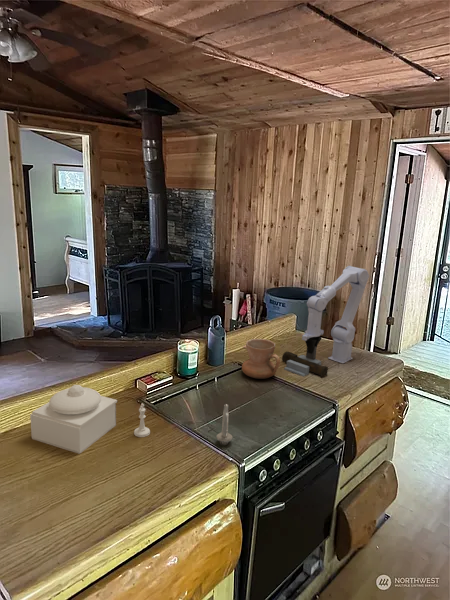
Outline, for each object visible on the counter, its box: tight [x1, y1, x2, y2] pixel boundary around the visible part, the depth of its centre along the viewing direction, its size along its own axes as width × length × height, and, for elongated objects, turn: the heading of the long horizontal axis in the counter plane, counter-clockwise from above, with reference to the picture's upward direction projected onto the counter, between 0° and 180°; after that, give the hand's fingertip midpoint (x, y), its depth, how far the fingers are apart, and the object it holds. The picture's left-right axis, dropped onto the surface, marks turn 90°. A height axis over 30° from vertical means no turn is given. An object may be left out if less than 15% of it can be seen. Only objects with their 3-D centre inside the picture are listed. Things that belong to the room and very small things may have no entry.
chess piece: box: [133, 403, 151, 438], centre depth 135 cm, size 5×5×10 cm
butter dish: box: [29, 384, 118, 455], centre depth 133 cm, size 18×18×16 cm
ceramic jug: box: [241, 338, 281, 380], centre depth 182 cm, size 18×14×14 cm
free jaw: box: [297, 345, 322, 365], centre depth 195 cm, size 4×10×10 cm, turn 47°
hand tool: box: [281, 350, 329, 378], centre depth 193 cm, size 23×5×6 cm, turn 44°
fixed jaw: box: [283, 360, 310, 377], centre depth 189 cm, size 4×10×4 cm, turn 47°
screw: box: [216, 403, 233, 446], centre depth 132 cm, size 13×5×5 cm
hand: (311, 352), depth 196 cm, fingers closed on free jaw, 2 cm apart
